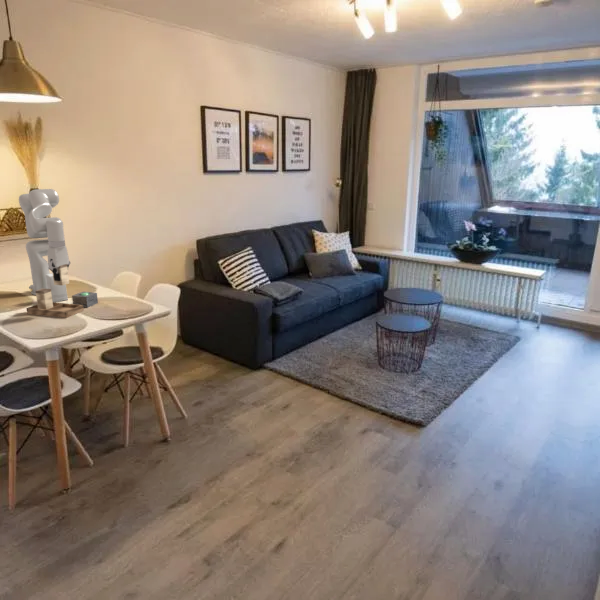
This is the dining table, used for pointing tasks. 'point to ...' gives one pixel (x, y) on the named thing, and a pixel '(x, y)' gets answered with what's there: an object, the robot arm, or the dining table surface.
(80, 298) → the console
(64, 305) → the tray
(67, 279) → the block
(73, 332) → the dining table surface
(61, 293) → the skincare box
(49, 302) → the block
